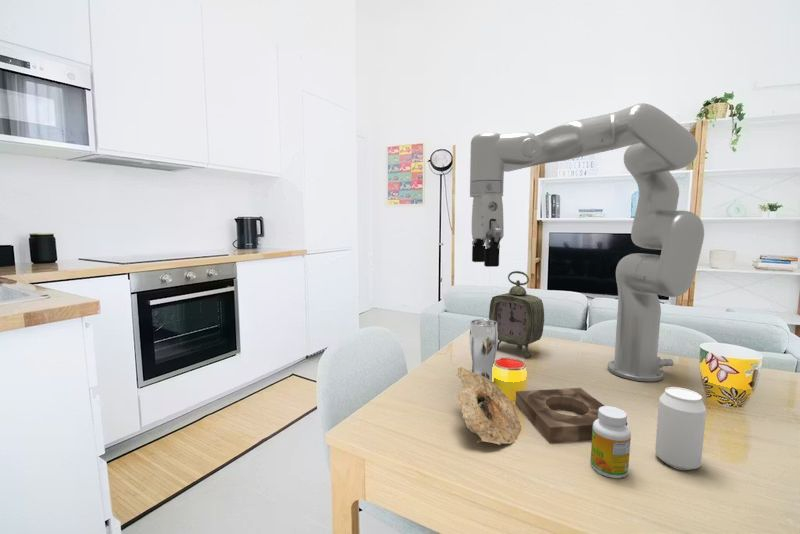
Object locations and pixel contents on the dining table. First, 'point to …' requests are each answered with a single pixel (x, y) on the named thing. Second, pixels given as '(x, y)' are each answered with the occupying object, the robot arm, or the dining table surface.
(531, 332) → the tabletop clock
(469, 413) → the holed granite stone
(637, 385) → the dining table surface
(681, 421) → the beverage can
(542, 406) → the can holder
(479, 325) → the beer glass
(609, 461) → the supplement bottle
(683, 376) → the dining table surface
